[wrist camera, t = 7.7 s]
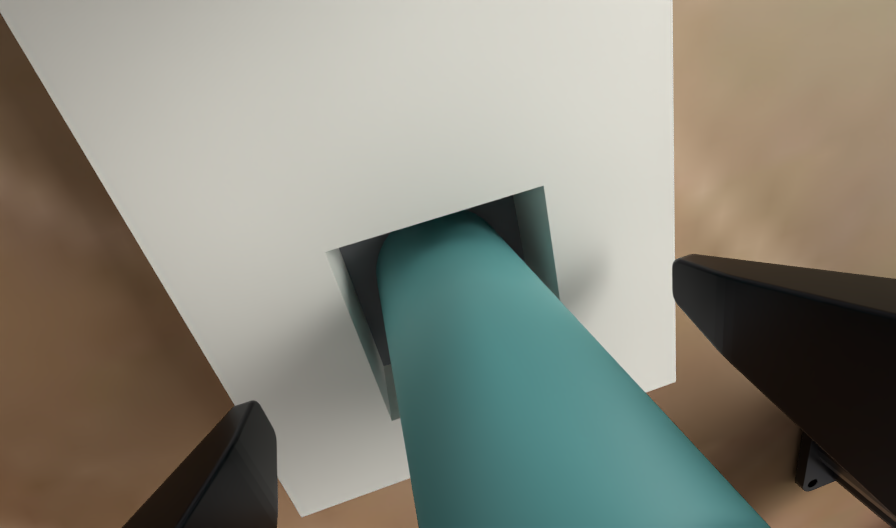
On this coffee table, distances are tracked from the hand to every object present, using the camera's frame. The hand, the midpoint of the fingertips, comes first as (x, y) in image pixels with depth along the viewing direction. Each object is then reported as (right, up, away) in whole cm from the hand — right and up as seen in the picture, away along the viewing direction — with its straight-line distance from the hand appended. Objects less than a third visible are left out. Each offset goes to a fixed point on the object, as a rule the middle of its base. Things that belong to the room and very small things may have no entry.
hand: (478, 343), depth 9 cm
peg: (-1, +2, +3) cm, 4 cm away
